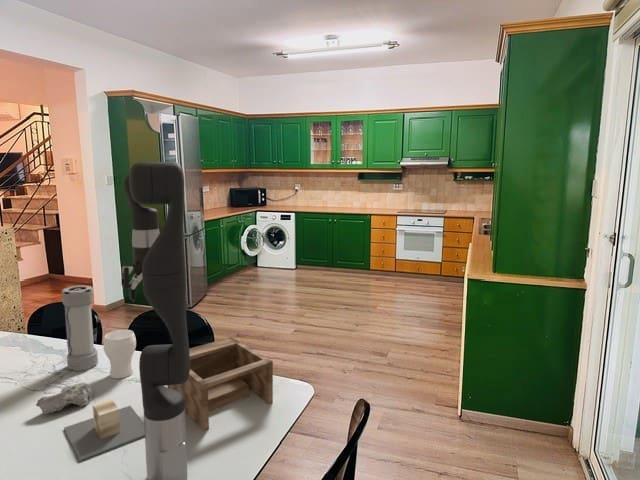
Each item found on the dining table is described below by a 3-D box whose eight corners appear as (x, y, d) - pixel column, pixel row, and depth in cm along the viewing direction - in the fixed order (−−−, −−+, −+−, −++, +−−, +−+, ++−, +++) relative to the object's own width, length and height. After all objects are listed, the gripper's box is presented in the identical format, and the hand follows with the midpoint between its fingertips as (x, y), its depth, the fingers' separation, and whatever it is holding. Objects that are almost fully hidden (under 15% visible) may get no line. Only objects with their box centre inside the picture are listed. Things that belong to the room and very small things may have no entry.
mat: (151, 434, 119) (151, 432, 119) (79, 461, 108) (79, 459, 108) (130, 407, 133) (130, 405, 133) (64, 429, 121) (64, 427, 121)
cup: (125, 382, 148) (122, 341, 146) (98, 378, 150) (95, 338, 148) (143, 368, 159) (141, 330, 156) (118, 365, 161) (116, 328, 158)
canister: (61, 369, 157) (54, 290, 152) (83, 358, 167) (78, 284, 162) (82, 373, 154) (76, 293, 149) (104, 361, 164) (99, 286, 159)
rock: (44, 423, 124) (43, 402, 123) (35, 414, 128) (33, 393, 127) (99, 401, 136) (98, 382, 135) (89, 394, 140) (88, 375, 139)
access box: (272, 402, 137) (272, 361, 135) (203, 430, 121) (202, 385, 119) (231, 373, 156) (231, 337, 154) (167, 394, 141) (166, 354, 138)
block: (120, 432, 119) (118, 409, 118) (101, 439, 116) (99, 415, 115) (113, 421, 124) (111, 398, 123) (94, 427, 121) (92, 404, 120)
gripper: (124, 248, 115) (128, 306, 118) (175, 243, 125) (177, 296, 127) (116, 244, 121) (119, 299, 123) (165, 240, 130) (167, 291, 133)
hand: (149, 298), depth 125 cm, fingers open, 8 cm apart
